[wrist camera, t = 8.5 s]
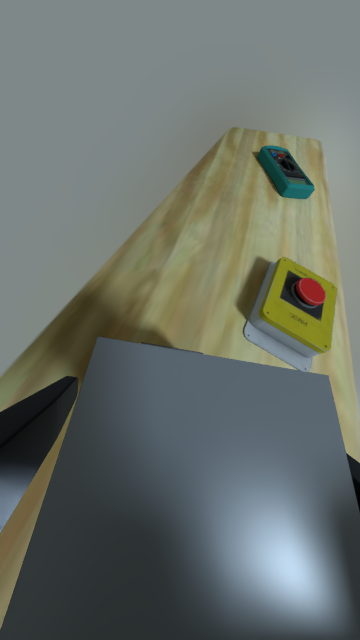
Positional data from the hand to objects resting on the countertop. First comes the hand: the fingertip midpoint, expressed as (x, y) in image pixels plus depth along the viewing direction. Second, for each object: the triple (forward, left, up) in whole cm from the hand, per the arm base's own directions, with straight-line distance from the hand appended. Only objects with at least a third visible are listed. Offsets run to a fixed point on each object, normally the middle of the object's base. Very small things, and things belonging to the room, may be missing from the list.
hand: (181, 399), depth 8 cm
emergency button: (+16, -13, -11) cm, 23 cm away
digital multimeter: (+51, -9, -11) cm, 53 cm away
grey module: (-1, 0, -8) cm, 8 cm away
